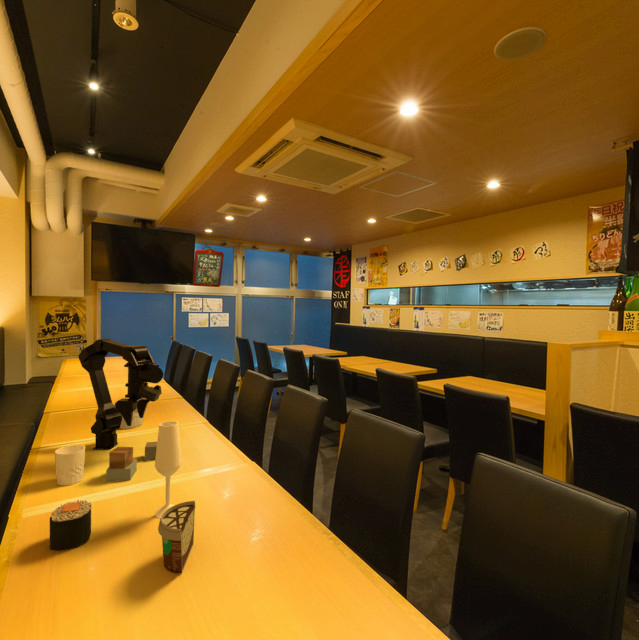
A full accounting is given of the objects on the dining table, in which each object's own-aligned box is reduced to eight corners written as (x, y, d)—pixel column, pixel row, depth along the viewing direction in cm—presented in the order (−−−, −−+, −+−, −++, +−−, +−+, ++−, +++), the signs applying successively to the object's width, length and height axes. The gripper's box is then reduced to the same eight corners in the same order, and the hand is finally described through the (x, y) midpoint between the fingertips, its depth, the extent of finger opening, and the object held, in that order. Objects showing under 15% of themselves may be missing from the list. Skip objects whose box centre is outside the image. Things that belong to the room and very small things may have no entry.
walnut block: (124, 468, 117) (125, 452, 117) (109, 468, 117) (109, 452, 117) (132, 462, 122) (133, 447, 122) (117, 461, 122) (118, 446, 122)
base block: (106, 482, 116) (106, 470, 116) (113, 472, 123) (113, 460, 123) (130, 481, 117) (130, 468, 117) (136, 471, 124) (136, 459, 124)
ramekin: (116, 432, 160) (116, 416, 160) (109, 424, 170) (109, 409, 170) (148, 426, 169) (148, 411, 169) (140, 419, 179) (140, 405, 179)
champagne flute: (161, 504, 104) (162, 419, 103) (184, 505, 103) (186, 420, 103) (149, 518, 97) (150, 427, 96) (174, 519, 97) (175, 428, 96)
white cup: (52, 488, 111) (52, 455, 110) (57, 477, 118) (57, 446, 117) (83, 483, 114) (83, 451, 114) (86, 473, 121) (86, 443, 121)
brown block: (144, 461, 132) (144, 447, 132) (146, 455, 137) (146, 442, 137) (159, 459, 133) (160, 446, 133) (161, 454, 138) (161, 441, 138)
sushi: (45, 555, 82) (46, 519, 81) (55, 533, 89) (55, 501, 89) (88, 546, 85) (88, 512, 85) (94, 526, 93) (94, 495, 92)
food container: (168, 541, 87) (168, 500, 87) (195, 540, 88) (195, 499, 88) (148, 580, 75) (149, 531, 75) (179, 578, 76) (180, 530, 75)
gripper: (146, 386, 127) (145, 431, 128) (168, 376, 146) (167, 415, 146) (114, 385, 127) (113, 430, 128) (140, 374, 146) (139, 414, 146)
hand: (135, 421), depth 137 cm, fingers open, 9 cm apart
